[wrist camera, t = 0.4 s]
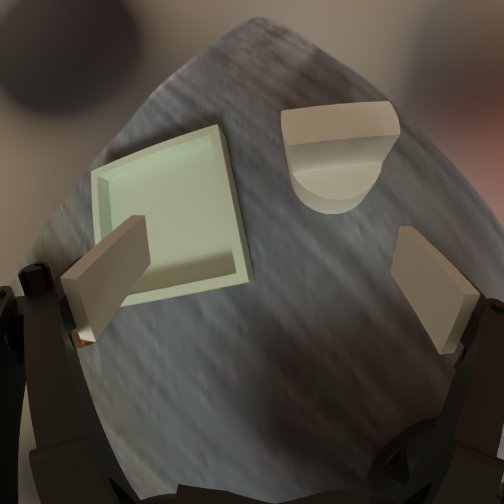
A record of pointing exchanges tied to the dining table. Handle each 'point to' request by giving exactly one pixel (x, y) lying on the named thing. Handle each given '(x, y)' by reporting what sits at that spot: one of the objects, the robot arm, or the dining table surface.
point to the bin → (177, 214)
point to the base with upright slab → (337, 151)
